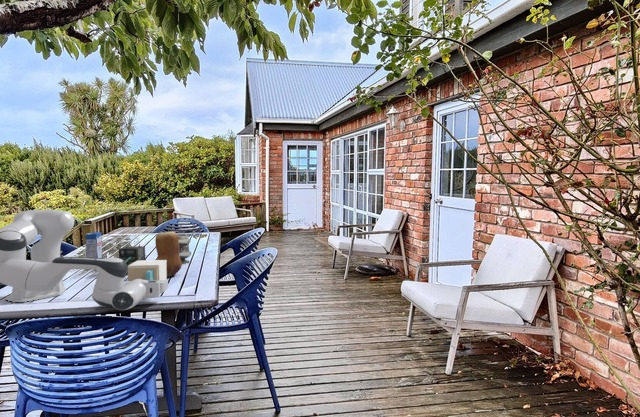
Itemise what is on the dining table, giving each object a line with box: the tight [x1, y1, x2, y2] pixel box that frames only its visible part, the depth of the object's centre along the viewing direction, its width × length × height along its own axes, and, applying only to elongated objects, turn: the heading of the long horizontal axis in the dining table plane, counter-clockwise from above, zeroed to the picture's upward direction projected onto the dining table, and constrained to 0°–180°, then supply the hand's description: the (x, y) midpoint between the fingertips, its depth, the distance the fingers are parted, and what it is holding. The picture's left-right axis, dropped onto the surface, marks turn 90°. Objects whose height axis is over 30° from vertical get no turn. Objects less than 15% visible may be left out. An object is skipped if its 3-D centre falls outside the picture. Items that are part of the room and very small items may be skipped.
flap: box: [127, 267, 158, 281], centre depth 178 cm, size 6×13×11 cm, turn 96°
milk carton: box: [84, 231, 103, 258], centre depth 244 cm, size 10×6×20 cm, turn 13°
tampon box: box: [118, 245, 146, 275], centre depth 224 cm, size 11×9×15 cm
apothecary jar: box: [177, 234, 192, 265], centre depth 250 cm, size 12×12×18 cm
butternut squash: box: [154, 230, 183, 278], centre depth 213 cm, size 14×13×25 cm
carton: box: [128, 259, 168, 281], centre depth 188 cm, size 12×14×13 cm
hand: (148, 281), depth 175 cm, fingers open, 8 cm apart
